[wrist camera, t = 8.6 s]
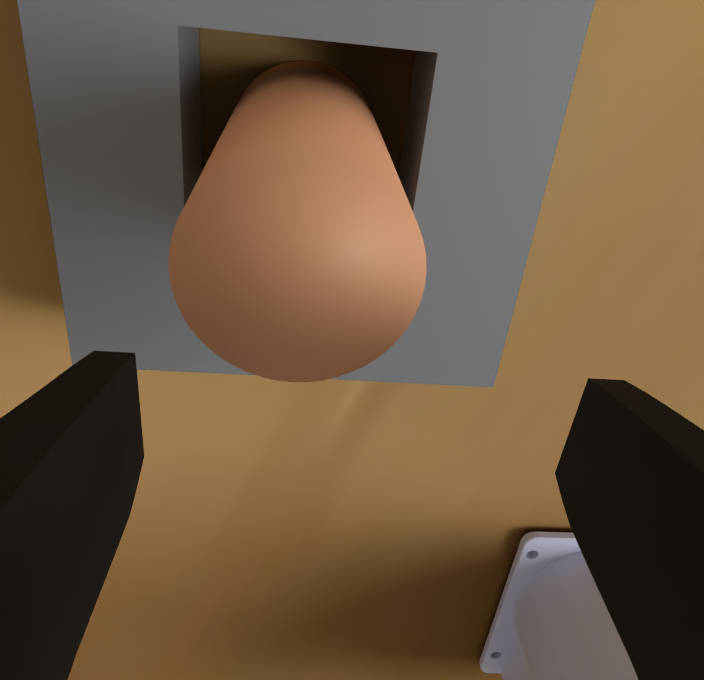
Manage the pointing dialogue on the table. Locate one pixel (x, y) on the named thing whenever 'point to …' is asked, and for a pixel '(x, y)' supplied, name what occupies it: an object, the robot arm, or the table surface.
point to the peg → (298, 233)
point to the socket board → (186, 159)
